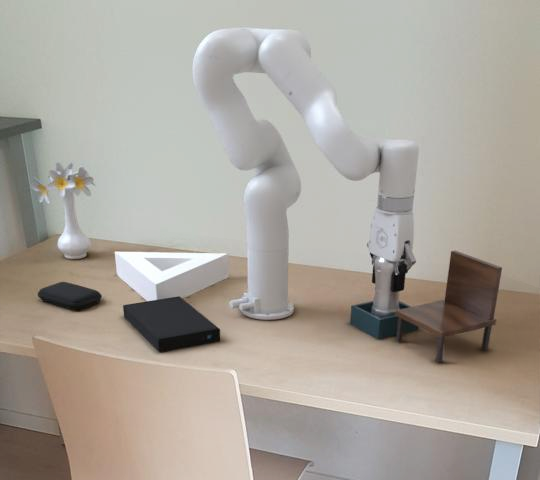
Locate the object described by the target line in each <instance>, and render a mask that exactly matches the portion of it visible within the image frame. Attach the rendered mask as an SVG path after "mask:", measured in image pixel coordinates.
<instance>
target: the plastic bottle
mask: <svg viewBox="0 0 540 480" xmlns="http://www.w3.org/2000/svg"><path fill="white" fill-rule="evenodd" d="M400 259H401V258H400ZM401 265H402V262H399V267H400V266H401ZM393 274H395V271H394V264H393V262H390V261H387V260H385V259H383V258H381V257H378V256H377V258H376V260H375V284H374V287H375V288H374V296H373V300H372V301H373V306H372V309H371V314H373V315H375V316H377V317H379V318H384V317H389V316H393V315H395V313H396V310H399V301H400V291H398V292H392V291H391V285H392V275H393Z"/></svg>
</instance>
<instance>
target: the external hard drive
mask: <svg viewBox="0 0 540 480" xmlns="http://www.w3.org/2000/svg"><path fill="white" fill-rule="evenodd" d="M122 311H123V317H124V319H125V320H126V321H127V322H129V324H131V326H133V328H134V329H136V331H137V332H139V333H140V334H141V336H143V338H144V339H146V340H147V341H148V342H149V343H150V344H151V345H152V346H153V348H154V349H156V350H157V351H158V352H159V353H165V352H166V353H167V352H170V351H177V350H180V349H181V350H182V349H187V348H191V347H198V346H202V345H208V344H213V343H220V342H221V328H219V327H218V326H217V325H216V324H214V323H213V322H212V321H211V320H209V319H208V318H207V317H206V316H205V315H204V314H203V313H201V312H200V311H198V310H197V309H196V308H195V307H193V306H192V305H191V304H190V303H189V302H187V301H186V300H184V298H183V299H182V298H181V297H180V296H178V297H172V298H165V299H159V300H153V301H146V300H145V301H141V302H134V303H128V304H123V305H122Z"/></svg>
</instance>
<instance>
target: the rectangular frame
mask: <svg viewBox="0 0 540 480" xmlns="http://www.w3.org/2000/svg"><path fill="white" fill-rule="evenodd" d="M373 301H374V300H370V301H366V302H361V303H356V304H352V305H350V320H349V325H351V326H353V327H355V328H356V329H358V330H360V331H362V332H364V333H366V334H367V335H369V336H371V337H373V338H375V339H377V340H381V339H384V338H389V337H392V336H396V335H397V325H398V317H397V316H395V315H393V316H389V317H384V318H379V317H377V316H375V315H373V314H371V309H372V306H373ZM408 307H412V306H411V305H409V304H407V303H405V302H403V301H401V300H399V309H404V308H408ZM419 328H420V327H418V326H416V325H414V324H412V323H410V322H408V321H406V320H404V328H403V334H405V333H410V332H414V331H418V330H419Z"/></svg>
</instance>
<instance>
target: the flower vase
mask: <svg viewBox="0 0 540 480" xmlns="http://www.w3.org/2000/svg"><path fill="white" fill-rule="evenodd" d="M73 167H74V164H73V162H69V163H67V165H65V167H64V166H63V165H62V163H61V162H58V161H56V162H55V163H54V169H49V171H48V174H49V175H48V179H50V181H49V182H47V184H46V185H45V184H44V183H42V182H41V180H39V179H38V178H37V177H36V176H33V181H34V183H30V184H29V187H30V188H31V189H32V191H35V192H38V194H37V200H38V202H39V203H40V204H41V203H43V201H44V200H45V202H46V203H47V204H49V205H50V204H51V201H50V197H49V192H50V191H54V190H57V195H58V196H59V197H60V198H62V202H63V208H64V209H63V211H64V227H63V228H64V229H63V232H62V233H61V235H59V237H58V239H57V243H56V244H57V245H56V247H57V248H58V250H59V251H60V252H61V253H62V254H64V255H63V256H64V258H65V259H69V260H80V259H83V258H86V257H87V254H88V253H87V252H89V251H90V249H91V247H92V243H91V240H90V238H89V237H88V235H86V233H84V232H83V231H82V229H81V227H80V224H79V221H78V217H77V209H76V205H75V204H76V203H75V196H80V194H81V193H83V194H84V195H85V196H87V197H91V195H92V192H91V190H90V188H89V187H88V186H89V185H93V186H94V187H96V184H95V183H94V177H92V176H90V174H89V172H88V171H87V170H86V169H85V167H84V165H83V164H82V162H81V160H79V168H78V171H74V172H73Z"/></svg>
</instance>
